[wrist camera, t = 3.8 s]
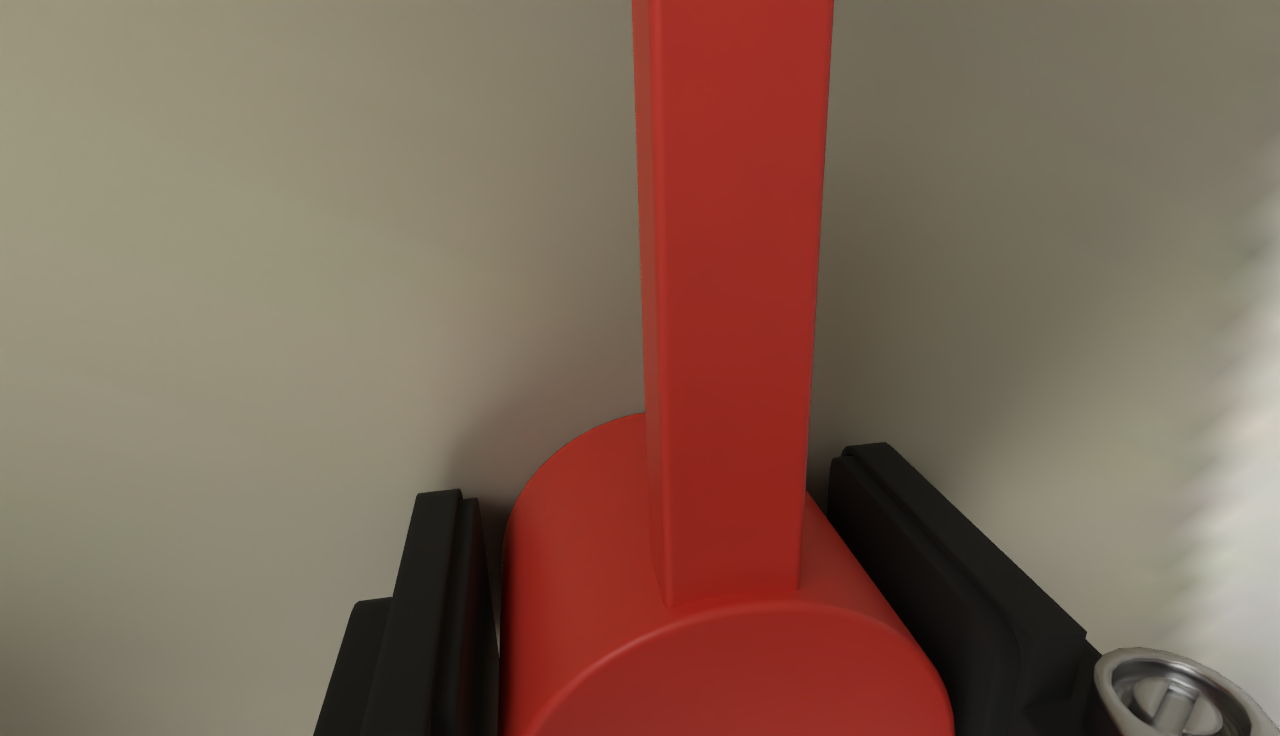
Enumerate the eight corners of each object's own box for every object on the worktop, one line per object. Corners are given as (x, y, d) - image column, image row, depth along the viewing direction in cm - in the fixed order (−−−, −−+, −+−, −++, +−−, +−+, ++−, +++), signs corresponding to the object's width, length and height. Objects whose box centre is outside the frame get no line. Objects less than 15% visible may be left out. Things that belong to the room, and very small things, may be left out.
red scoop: (797, 646, 11) (932, 910, 8) (517, 688, 11) (519, 996, 7) (836, -1, 8) (1103, -73, 4) (433, 7, 8) (356, -72, 4)
